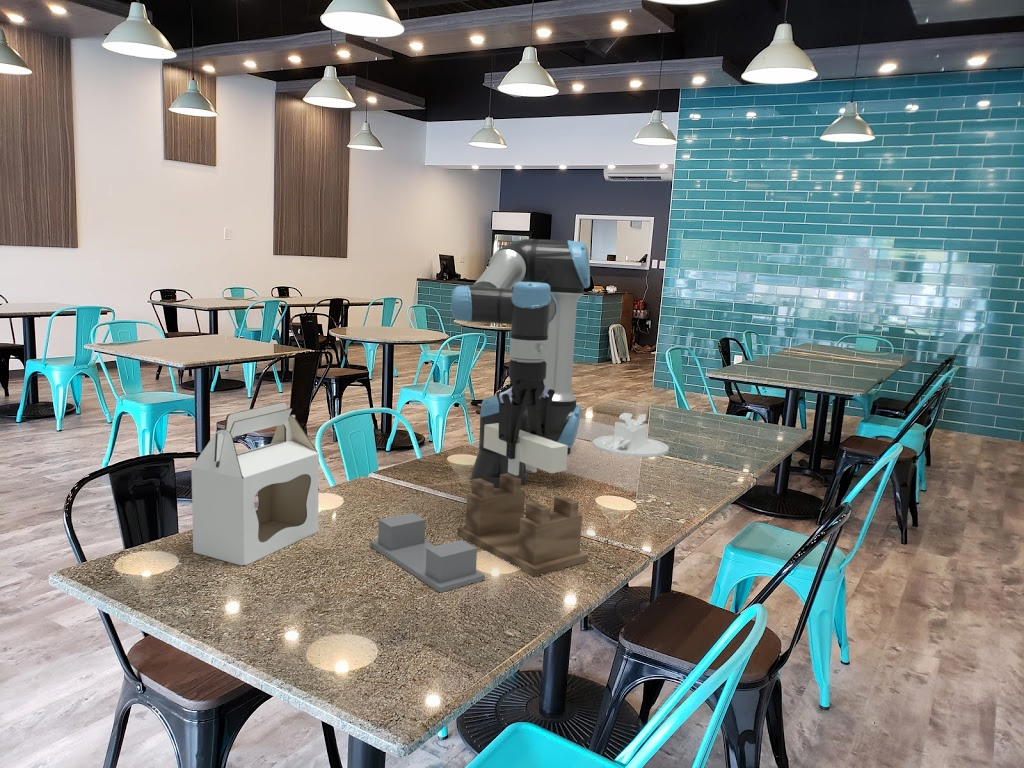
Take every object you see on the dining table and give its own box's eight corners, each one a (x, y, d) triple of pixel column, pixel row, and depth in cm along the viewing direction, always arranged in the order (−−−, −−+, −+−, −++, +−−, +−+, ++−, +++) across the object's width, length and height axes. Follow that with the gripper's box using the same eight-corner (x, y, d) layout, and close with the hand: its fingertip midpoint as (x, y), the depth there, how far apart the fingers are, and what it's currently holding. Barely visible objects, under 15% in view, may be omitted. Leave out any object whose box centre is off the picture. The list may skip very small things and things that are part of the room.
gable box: (243, 567, 143) (241, 422, 139) (191, 553, 149) (188, 412, 144) (319, 531, 163) (320, 403, 159) (271, 520, 169) (271, 395, 164)
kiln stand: (370, 546, 156) (370, 518, 155) (412, 536, 163) (412, 509, 162) (439, 592, 137) (441, 561, 136) (484, 580, 143) (486, 549, 142)
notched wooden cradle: (457, 534, 165) (459, 479, 163) (508, 523, 174) (510, 470, 172) (535, 577, 145) (538, 514, 143) (587, 561, 154) (591, 502, 152)
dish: (593, 436, 265) (595, 404, 263) (666, 442, 262) (668, 410, 260) (591, 454, 241) (593, 419, 239) (671, 461, 238) (674, 425, 236)
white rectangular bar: (483, 447, 164) (484, 424, 163) (498, 445, 166) (499, 422, 165) (550, 473, 147) (552, 448, 146) (566, 470, 149) (567, 445, 148)
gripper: (505, 364, 145) (500, 483, 149) (572, 360, 155) (565, 470, 159) (482, 359, 150) (477, 473, 154) (548, 355, 161) (541, 462, 165)
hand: (522, 471), depth 157 cm, fingers closed on white rectangular bar, 4 cm apart
